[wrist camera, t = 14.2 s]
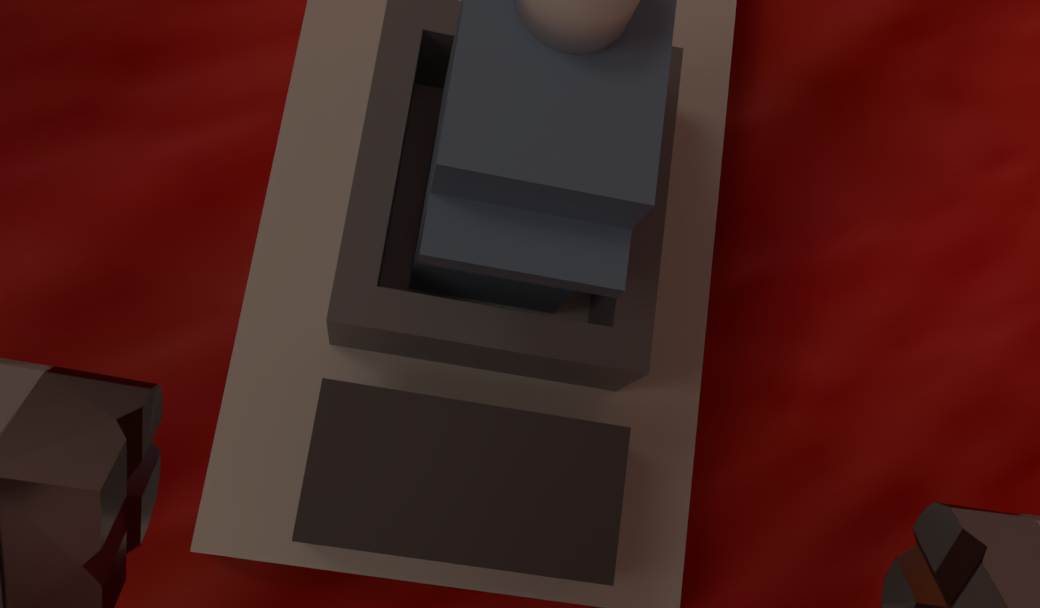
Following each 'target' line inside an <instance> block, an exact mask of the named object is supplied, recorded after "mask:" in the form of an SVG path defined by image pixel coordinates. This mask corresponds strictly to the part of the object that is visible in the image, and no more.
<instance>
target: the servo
mask: <svg viewBox="0 0 1040 608" xmlns="http://www.w3.org/2000/svg"><path fill="white" fill-rule="evenodd" d="M676 4H677V0H461V5H460V10H459V15H458V20H457V25H456V30H455V35H454V40H453V45H452V50H451V55H450V59H449V64H448V69H447V74H446V79H445V84H444V89H443V94H442V99H441V104H440V109H439V114H438V119H437V124H436V130H435V136H434V142H433V148H432V154H431V159H430V165H429V171H428V177H427V183H426V189H425V195H424V200H423V206H422V212H421V218H420V224H419V230H418V235H417V241H416V247H415V253H414V259H413V265H412V271H411V276H410V282H409V288H408V289H413V290H419V291H425V292H431V293H436V294H442V295H448V296H454V297H459V298H465V299H471V300H477V301H482V302H488V303H494V304H500V305H505V306H511V307H517V308H523V309H529V310H534V311H540V312H546V313H552V314H554V313H555V312H556V310H557V309H558V308H559V307H560V306H561V305H562V304H563V303H564V302H565V301H566V300H567V299H568V298H569V297H570V295H571V294H572V293H573V292H574V291H580V292H585V293H591V294H596V295H602V296H608V297H613V298H617V297H618V296H619V295H621V294H622V293H623V292H624V291H625V285H626V276H627V267H628V259H629V250H630V241H631V232H632V229H633V228H634V227H635V226H636V225H637V224H638V223H639V222H640V220H641V219H642V218H643V217H644V216H645V215H646V214H647V213H648V212H649V211H650V210H651V209H652V208H653V207H654V204H655V195H656V186H657V177H658V168H659V159H660V150H661V140H662V131H663V122H664V113H665V104H666V95H667V86H668V77H669V68H670V59H671V49H672V40H673V31H674V22H675V13H676Z"/></svg>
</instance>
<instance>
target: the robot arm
mask: <svg viewBox="0 0 1040 608" xmlns="http://www.w3.org/2000/svg"><path fill="white" fill-rule="evenodd" d="M161 418H162V391H161V389H160V387H159V386H158V384H155V383H149V382H143V381H137V380H131V379H126V378H120V377H114V376H108V375H103V374H97V373H91V372H85V371H80V370H74V369H68V368H62V367H56V366H54V367H50V366H47V365H41V364H35V363H29V362H23V361H17V360H11V359H5V358H0V608H114V607H115V604H116V602H117V600H118V597H119V595H120V593H121V590H122V588H123V586H124V583H125V581H126V554H127V553H129V552H130V551H132V550H134V549H135V548H137V547H138V546H140V545H141V542H142V540H143V537H144V535H145V532H146V530H147V527H148V525H149V522H150V518H151V514H152V511H153V507H154V503H155V499H156V496H157V490H158V483H159V475H160V461H161V452H160V451H159V449H158V448H157V447H156V446H155V444H154V443H153V442H152V438H153V436H154V434H155V432H156V430H157V427H158V425H159V423H160V421H161ZM913 531H914V535H915V538H916V542H917V545H915V546H914V547H912V548H910V549H909V550H907V551H905V552H904V553H902V554H900V555H899V556H897V557H896V558H895V560H894V561H893V563H892V565H891V567H890V569H889V571H888V573H887V575H886V577H885V579H884V586H883V594H882V603H881V605H882V608H1040V516H1037V515H1029V514H1019V515H1018V514H1013V513H1006V512H999V511H992V510H985V509H978V508H971V507H965V506H958V505H951V504H944V503H937V502H934V503H933V504H932V505H930V506H929V507H928V508H926V509H925V510H924V511H922V513H921V515H920V516H919V518H918V520H917V521H916V523H915V525H914V526H913Z"/></svg>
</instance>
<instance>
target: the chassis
mask: <svg viewBox="0 0 1040 608" xmlns="http://www.w3.org/2000/svg"><path fill="white" fill-rule="evenodd" d="M736 3H737V0H677V4H676V13H675V22H674V31H673V40H672V49H671V59H670V68H669V77H668V86H667V95H666V104H665V113H664V122H663V131H662V140H661V150H660V159H659V168H658V177H657V186H656V195H655V204H654V207H653V208H652V209H651V210H650V211H649V212H648V213H647V214H646V215H645V216H644V217H643V218H642V219H641V220H640V222H639V223H638V224H637V225H636V226H635V227H634V228H633V229H632V232H631V241H630V250H629V259H628V267H627V276H626V285H625V291H624V292H623V293H622V294H621V295H619V296H618V297H617V298H613V297H608V296H602V295H596V294H591V293H585V292H580V291H574V292H573V293H572V294H571V295H570V297H569V298H568V299H567V300H566V301H565V302H564V303H563V304H562V305H561V306H560V307H559V308H558V309H557V310H556V312H555V313H554V314H552V313H546V312H540V311H534V310H529V309H523V308H517V307H511V306H505V305H500V304H494V303H488V302H482V301H477V300H471V299H465V298H459V297H454V296H448V295H442V294H436V293H431V292H425V291H419V290H413V289H408V288H409V282H410V276H411V271H412V265H413V259H414V253H415V247H416V241H417V235H418V230H419V224H420V218H421V212H422V206H423V200H424V195H425V189H426V183H427V177H428V171H429V165H430V159H431V154H432V148H433V142H434V136H435V130H436V124H437V119H438V114H439V109H440V104H441V99H442V94H443V89H444V84H445V79H446V74H447V69H448V64H449V59H450V55H451V50H452V45H453V40H454V35H455V30H456V25H457V20H458V15H459V10H460V5H461V0H308V1H307V6H306V10H305V15H304V20H303V24H302V29H301V34H300V38H299V43H298V48H297V52H296V57H295V62H294V66H293V71H292V76H291V81H290V85H289V90H288V95H287V99H286V104H285V109H284V113H283V118H282V123H281V127H280V132H279V137H278V141H277V146H276V151H275V156H274V160H273V165H272V170H271V174H270V179H269V184H268V188H267V193H266V198H265V202H264V207H263V212H262V216H261V221H260V226H259V231H258V235H257V240H256V245H255V249H254V254H253V259H252V263H251V268H250V273H249V277H248V282H247V287H246V291H245V296H244V301H243V306H242V310H241V315H240V320H239V324H238V329H237V334H236V338H235V343H234V348H233V352H232V357H231V362H230V366H229V371H228V376H227V381H226V385H225V390H224V395H223V399H222V404H221V409H220V413H219V418H218V423H217V427H216V432H215V437H214V442H213V446H212V451H211V456H210V460H209V465H208V470H207V474H206V479H205V484H204V488H203V493H202V498H201V502H200V507H199V512H198V517H197V521H196V526H195V531H194V535H193V540H192V545H191V549H190V552H197V553H205V554H212V555H219V556H227V557H234V558H241V559H249V560H256V561H263V562H271V563H278V564H286V565H293V566H300V567H308V568H315V569H322V570H330V571H337V572H344V573H352V574H359V575H366V576H374V577H381V578H388V579H396V580H403V581H411V582H418V583H425V584H433V585H440V586H447V587H455V588H462V589H469V590H477V591H484V592H491V593H499V594H506V595H513V596H521V597H528V598H536V599H543V600H550V601H558V602H565V603H572V604H580V605H587V606H594V607H602V608H680V601H681V590H682V579H683V569H684V558H685V547H686V537H687V526H688V515H689V505H690V494H691V483H692V473H693V462H694V451H695V441H696V430H697V419H698V409H699V398H700V387H701V377H702V366H703V355H704V345H705V334H706V323H707V313H708V302H709V291H710V281H711V270H712V259H713V248H714V238H715V227H716V216H717V206H718V195H719V184H720V174H721V163H722V152H723V142H724V131H725V120H726V110H727V99H728V88H729V78H730V67H731V56H732V46H733V35H734V24H735V14H736Z"/></svg>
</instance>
